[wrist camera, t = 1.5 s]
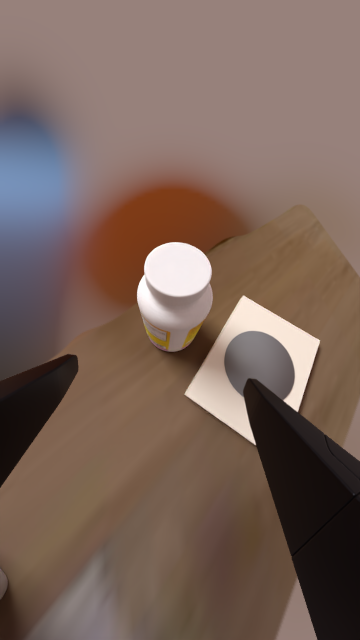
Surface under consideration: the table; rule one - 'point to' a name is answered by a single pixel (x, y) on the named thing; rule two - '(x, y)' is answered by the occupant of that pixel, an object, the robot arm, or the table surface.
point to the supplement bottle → (175, 295)
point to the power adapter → (3, 583)
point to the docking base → (253, 364)
